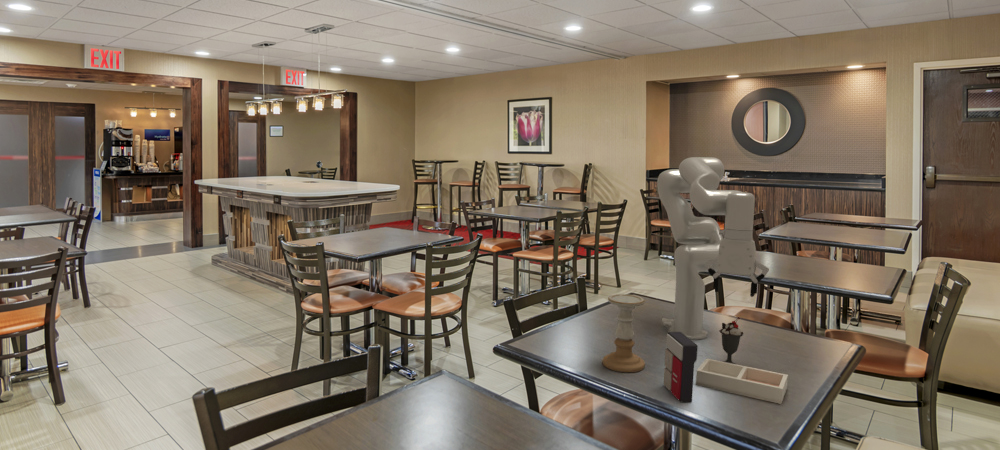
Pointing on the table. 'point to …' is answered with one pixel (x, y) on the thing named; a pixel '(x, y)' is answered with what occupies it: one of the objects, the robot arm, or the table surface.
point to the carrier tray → (742, 380)
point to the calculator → (680, 365)
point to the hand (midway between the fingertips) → (734, 293)
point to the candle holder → (624, 336)
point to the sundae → (730, 339)
